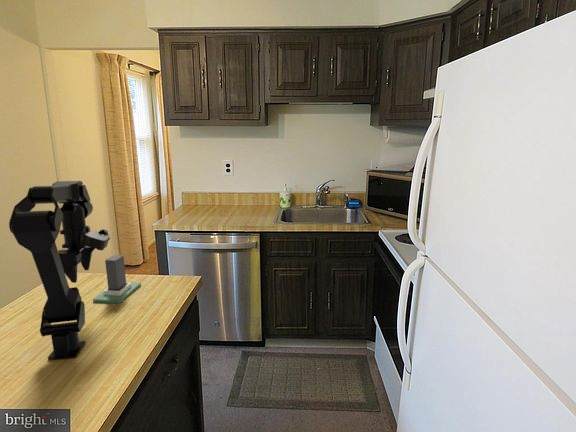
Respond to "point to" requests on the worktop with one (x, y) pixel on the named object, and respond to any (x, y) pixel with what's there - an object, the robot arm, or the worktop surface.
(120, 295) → the board
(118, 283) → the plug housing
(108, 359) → the worktop surface
